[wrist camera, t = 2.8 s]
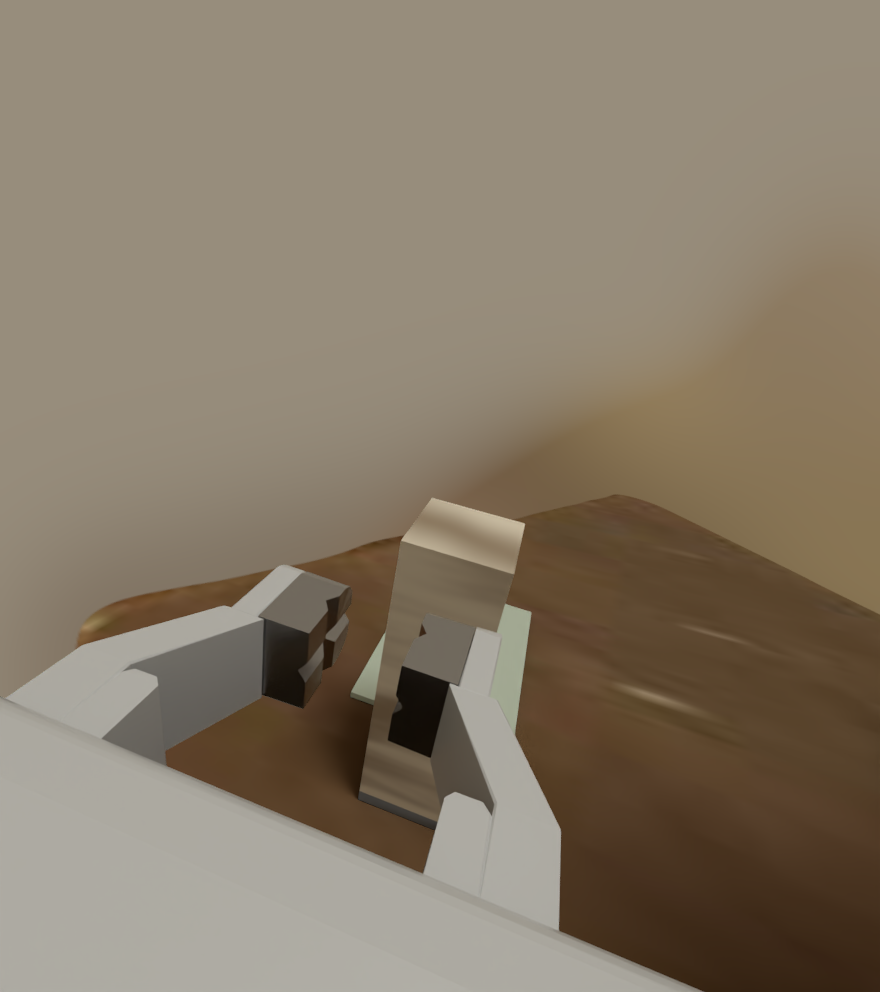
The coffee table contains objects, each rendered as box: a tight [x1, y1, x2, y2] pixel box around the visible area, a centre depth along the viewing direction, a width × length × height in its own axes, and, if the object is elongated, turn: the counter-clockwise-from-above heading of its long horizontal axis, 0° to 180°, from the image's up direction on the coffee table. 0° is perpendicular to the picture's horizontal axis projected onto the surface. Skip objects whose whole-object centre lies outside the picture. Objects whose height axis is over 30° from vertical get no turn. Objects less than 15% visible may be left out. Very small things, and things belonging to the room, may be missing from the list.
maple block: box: [358, 498, 525, 830], centre depth 26 cm, size 5×5×18 cm
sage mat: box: [350, 604, 531, 735], centre depth 40 cm, size 16×12×1 cm
